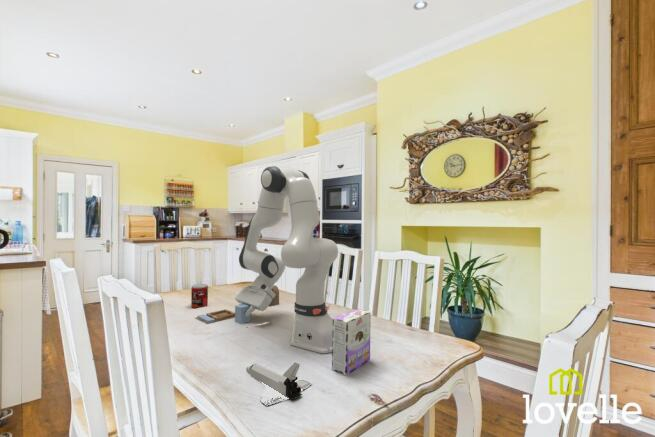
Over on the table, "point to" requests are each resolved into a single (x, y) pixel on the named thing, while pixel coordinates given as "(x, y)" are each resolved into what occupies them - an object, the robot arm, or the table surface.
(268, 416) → the table surface
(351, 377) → the table surface
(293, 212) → the robot arm
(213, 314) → the tray
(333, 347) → the candy box
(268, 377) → the space shuttle model
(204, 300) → the canned food
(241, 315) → the block
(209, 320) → the plate
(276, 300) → the wooden toy
